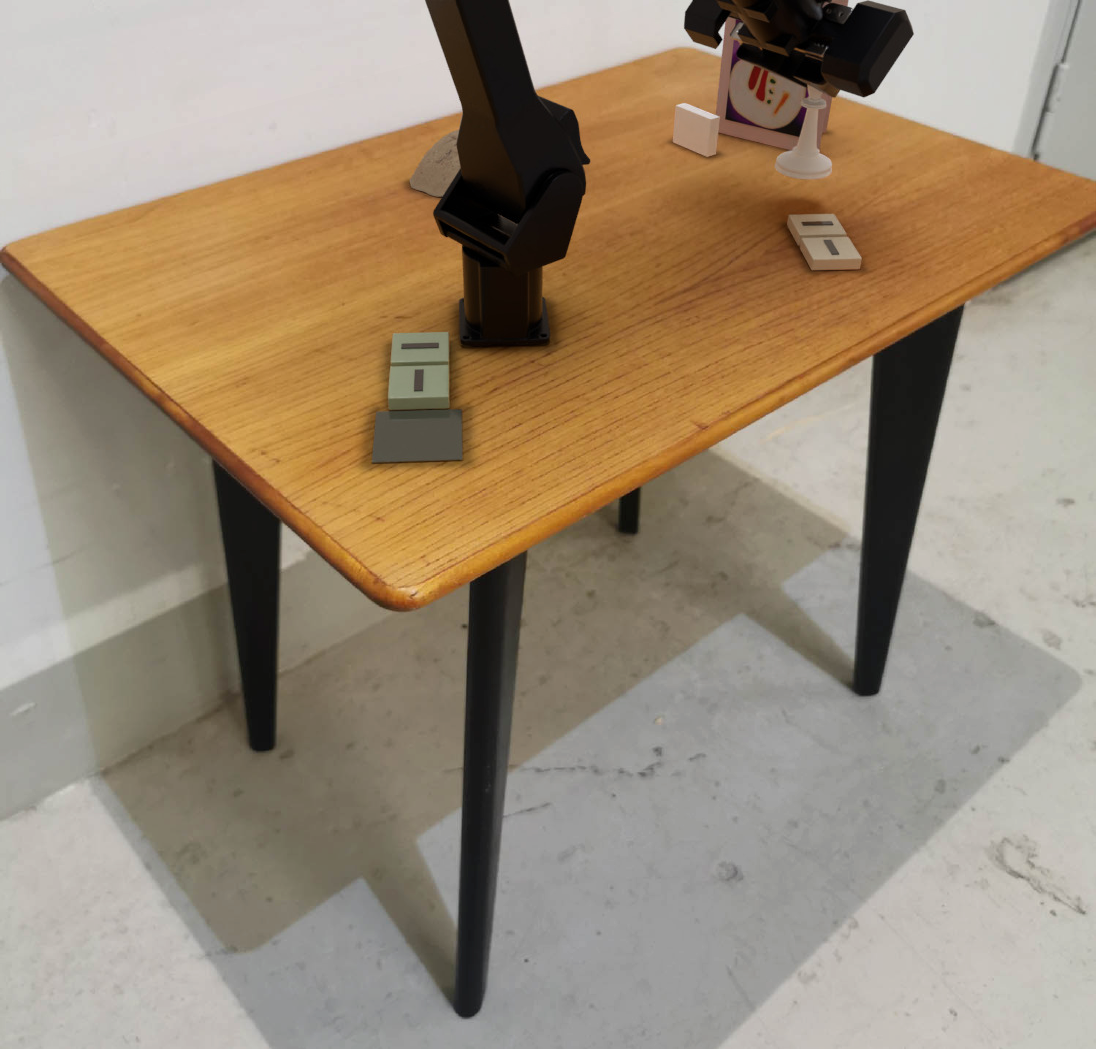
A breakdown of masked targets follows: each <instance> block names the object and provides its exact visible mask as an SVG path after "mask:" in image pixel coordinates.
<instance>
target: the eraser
mask: <svg viewBox="0 0 1096 1049" xmlns="http://www.w3.org/2000/svg"><path fill="white" fill-rule="evenodd" d="M674 107H675V110H674V121H673V132H672V133H673V134H672V143H673V144H676V145H679V146H680V147H683V148H684V149H685V148H686V149H687V150H690V151H692V152H694V153H697V154H699V155H701V156H704V157H706V158H709V157H711V156H715V155H717V149H718V148H717V147H718V139H719V133H718V131H719V121H720V117H719V116H717V115H716V114H713V113H711V112H709V111H706V110H704V109H701V108H699V107H697V106H694V105H692V104H689V103H686V102H682V103H678V104H676V105H675V106H674Z"/></svg>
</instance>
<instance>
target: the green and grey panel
mask: <svg viewBox="0 0 1096 1049" xmlns="http://www.w3.org/2000/svg"><path fill="white" fill-rule="evenodd" d="M390 350H391V352H390V366H389V374H388V375H389V376H388V388H387V389H388V390H387V405H388V407H387V408H388V410H389V411H388V410H387V411H376V412H375V420H374V422H375V423H374V431H373V432H374V433H373V444H372V456H371V464H388V463H389V464H390V463H419V462H420V463H421V462H422V463H423V462H424V463H425V462H452V461H453V462H455V461H456V462H457V461H464V460H463V459H464V458H463V409H462V408H454V409H451V408H450V407H451V406H450V404H451V403H450V397H451V396H450V395H451V394H450V332H449V331H429V332H428V331H426V332H424V331H423V332H393V333H392V338H391V349H390Z"/></svg>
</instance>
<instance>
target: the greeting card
mask: <svg viewBox="0 0 1096 1049" xmlns="http://www.w3.org/2000/svg"><path fill="white" fill-rule="evenodd" d="M831 3H836V4H840V5H844V6H848V5H849V0H832V1H831ZM826 4H829V3H828V2H825V3H824V5H823V6H822V7H824V6H825V5H826ZM848 7H849V6H848ZM738 22H742V21H740V20H737V19H733V18H730V17H728V18H727V20H726V21H725V23H724V31H723V40H722V50H721V60H720V68H719V79H718V87H717V88H718V89H717V99H716V106H715V107H716V109H715V115H717V116H719V117H720V121H719V131H718V134H723V135H726V136H730V137H735V138H740V139H742V140H747V141H752V142H755V143H760V144H764V145H767V146H771V147H776V148H780V149H785V150H788V151H792V149H793V148H794V147H795V146H797V143H798V140H799V137H800V134H801V130H802V127H803V123H804V119H805V115H806V111H807V108H805V107H803V106H802V105H801V102H802V100H803V99H804V98H808V97H809V94H808V89H807V88H805V87H803V86H800V85H798V84H796V83H794V82H791V81H789V80H787V79H785V78H782V77H780V76H778V75H775V74H773V73H771V72H769V71H766V70H764V69H762V68H759V67H757V66H755V65H752V64H750V63H748V62H745V61H742V60H740V59H739V58H738V57H737V56H736V52H737V50H738V48H739V46H740V44H739V42H738V41H736V40H733V39H732V38H731V37H730V33H731V32H732V30H733V29H734V27H735V26H736V24H737V23H738ZM821 98H822V99H823V100H825V101H826V107H825V108H823V109H818V122H817V149H819V151H821V143H822V136H823V133H827V131H828V125H829V118H830V112H831V108H832V107H831V106H832V101H833V97H830V96H828V95H826V94H824V93H823V94H822V96H821Z"/></svg>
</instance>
